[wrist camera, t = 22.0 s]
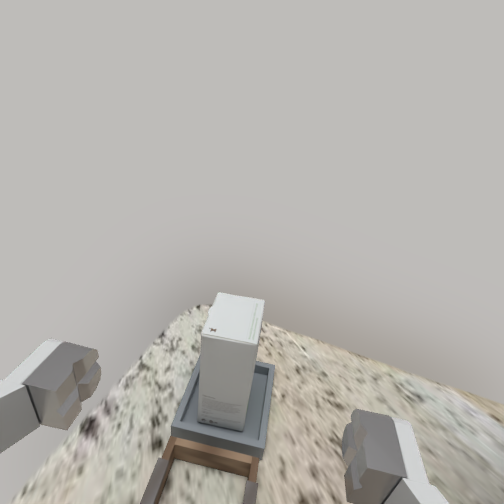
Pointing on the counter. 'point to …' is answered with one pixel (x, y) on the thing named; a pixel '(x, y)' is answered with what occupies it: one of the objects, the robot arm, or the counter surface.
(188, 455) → the walnut caddy
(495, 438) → the counter surface
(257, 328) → the skincare box
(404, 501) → the robot arm
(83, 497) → the counter surface
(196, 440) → the slate tray
